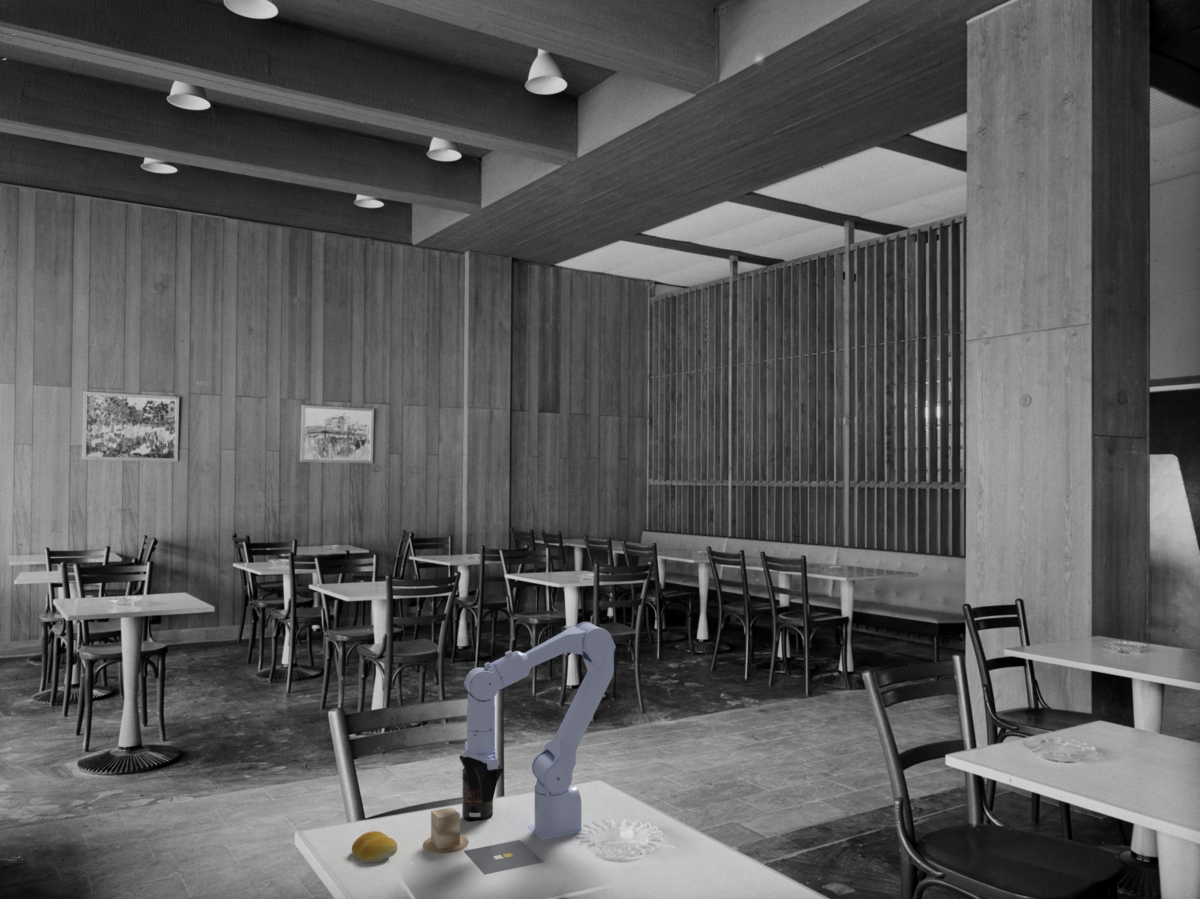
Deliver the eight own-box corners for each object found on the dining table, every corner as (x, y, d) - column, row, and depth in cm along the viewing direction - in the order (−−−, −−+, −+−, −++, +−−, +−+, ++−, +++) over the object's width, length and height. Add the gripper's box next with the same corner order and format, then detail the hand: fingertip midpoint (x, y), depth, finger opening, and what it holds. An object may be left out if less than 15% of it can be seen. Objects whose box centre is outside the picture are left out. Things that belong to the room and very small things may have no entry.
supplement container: (494, 811, 203) (494, 764, 203) (492, 823, 196) (492, 774, 196) (463, 812, 202) (463, 765, 203) (460, 824, 196) (460, 775, 196)
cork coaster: (460, 834, 190) (460, 831, 190) (474, 850, 182) (474, 846, 182) (417, 842, 185) (417, 838, 185) (430, 859, 177) (430, 855, 177)
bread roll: (367, 868, 174) (367, 847, 174) (346, 854, 181) (346, 833, 181) (406, 856, 179) (406, 835, 180) (383, 842, 186) (384, 823, 186)
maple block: (452, 836, 187) (452, 807, 187) (459, 844, 183) (460, 814, 183) (431, 841, 184) (431, 811, 185) (438, 849, 180) (438, 818, 181)
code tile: (520, 842, 186) (520, 839, 186) (543, 864, 175) (543, 861, 175) (463, 853, 180) (463, 850, 180) (484, 877, 169) (484, 874, 169)
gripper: (451, 722, 191) (450, 787, 191) (474, 739, 178) (474, 810, 178) (482, 718, 194) (482, 782, 194) (508, 735, 182) (507, 804, 181)
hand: (480, 795), depth 186 cm, fingers open, 7 cm apart
